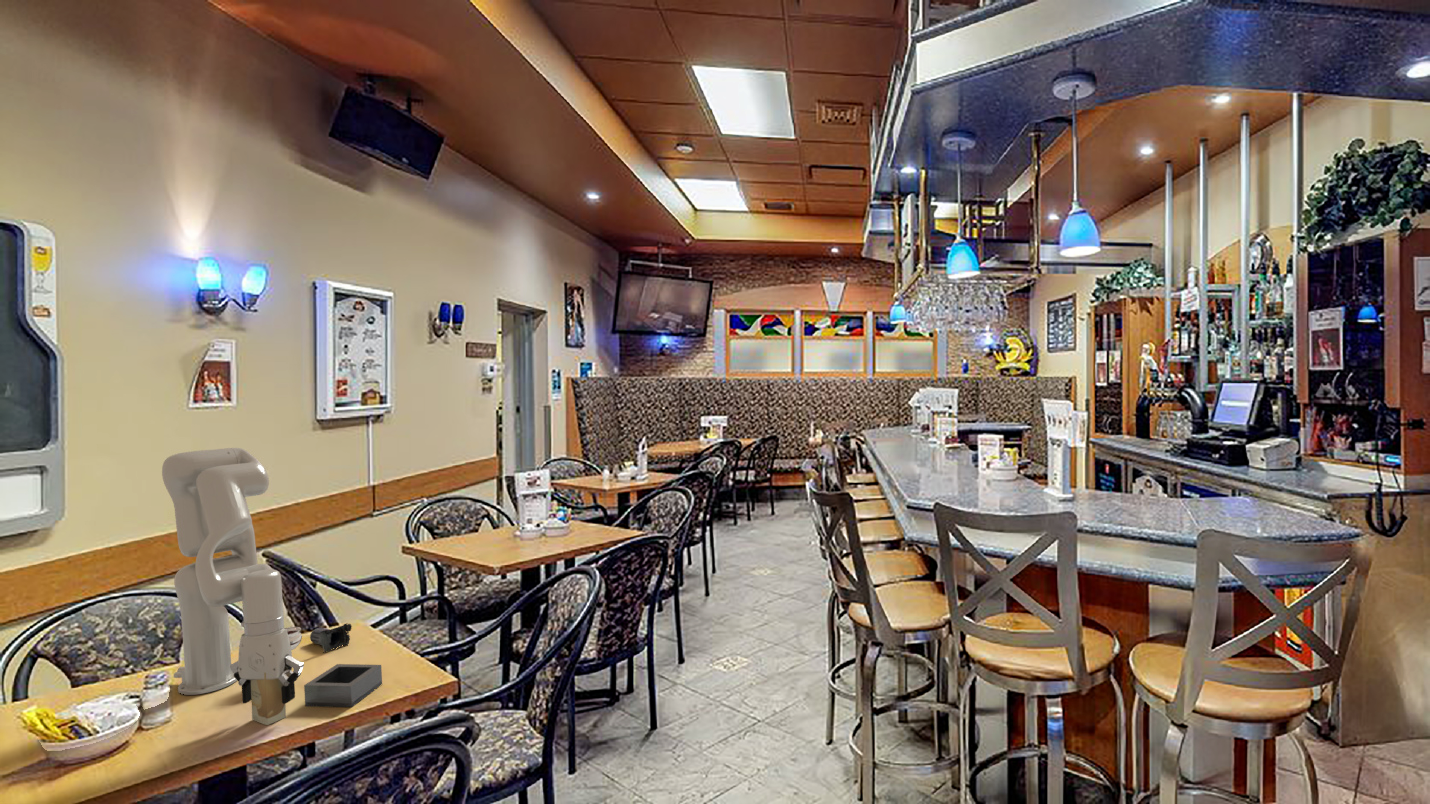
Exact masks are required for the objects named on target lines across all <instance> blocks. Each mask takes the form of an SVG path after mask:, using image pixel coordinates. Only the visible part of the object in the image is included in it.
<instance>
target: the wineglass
mask: <svg viewBox="0 0 1430 804" xmlns="http://www.w3.org/2000/svg"><path fill="white" fill-rule="evenodd" d="M284 629H286V630H287V633H288V637H289V641H290V646H291V651H293V650H295V649H296V648H297V647H299V645H300V644H301V642H302V637H303V635H302V633H301V630H302V628H301V627H300V626H289V627H284ZM285 676H286V678H287V679H288V676H287V675H286V674H285Z"/></svg>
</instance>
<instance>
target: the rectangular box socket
mask: <svg viewBox="0 0 1430 804" xmlns="http://www.w3.org/2000/svg"><path fill="white" fill-rule="evenodd" d="M382 671H383V670H382V664H359V663H358V664H357V663H356V664H354V663H353V664H351V663H349V664H348V663H347V664H345V663H337V664H335V665H334V666H332V667H330V668H329V669H328V670H326V671H325V672H323V673H321V674H320V675H318V676H316V677H315V678H313V679H311V680H310V681H308V682H307V683H305V684H304V685H303V688H304V692H303V693H304V705H305V706H304V707H318V708H319V707H326V708H330V707H332V708H353V707H355V706H357V704H358V703H359V702H361V701H362V700H364V699H365V698H366V697H368V696H369V695H371V694H372V693H374V691H375V690H374V689H376V690H377V689H378V688H380V687H381V686H382V685H383V675H382ZM381 684H382V685H381ZM380 685H381V686H380ZM379 686H380V687H379ZM377 687H378V688H377ZM371 692H372V693H371ZM367 695H368V696H367Z"/></svg>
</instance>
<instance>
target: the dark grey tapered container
mask: <svg viewBox="0 0 1430 804" xmlns="http://www.w3.org/2000/svg"><path fill="white" fill-rule="evenodd" d="M352 627H353V626H352V624H351V623H349V622H347V623H344V624H343V625H340V626H338V627H334V628H331V629H330V628H329V629H328V628H323V627H317V628H315V629H313V630H312V631H311V632H310V635H309V639H310V642H311V643H313V644H315V645H320V646H321V648H322V650H323V652H322V653H323V654H324V652H325V653H327V652H326V651H328V652H330V650H331V649H333V648H335V649H336V648H337V647H339V646H342V645H343V646H344V647H345V645H347V646H349V644H350V640H351V636H350V634H349V633H350V632H351V631H352ZM339 648H340V647H339ZM335 649H334V650H335ZM336 650H337V649H336ZM331 651H332V650H331Z"/></svg>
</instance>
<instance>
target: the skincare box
mask: <svg viewBox="0 0 1430 804" xmlns="http://www.w3.org/2000/svg"><path fill="white" fill-rule="evenodd" d="M282 686H284V684H283V683H282V682H281V681H280V680H279V679H278V678H277V679H274V680H267V679H266V672H264V679H262V680H251V700H250V701H251V719H252V720H253V721H254V722H258V723H260V724H262V725H265V726H269V725H271V724H273V723H276V722H278V721H281V720H282V719H285V718H287V712H286V711H287V708H286V707H287V706H286V704H283V703H282V692H281V687H282Z"/></svg>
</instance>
